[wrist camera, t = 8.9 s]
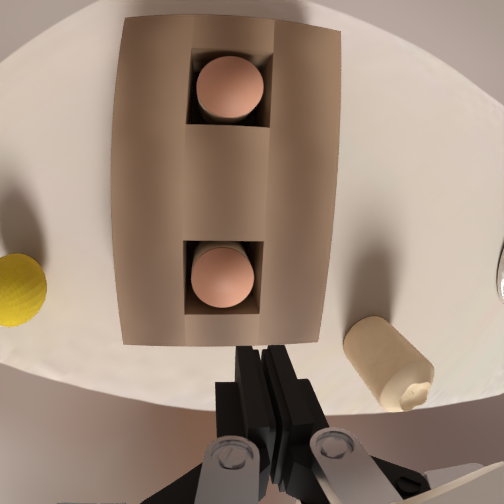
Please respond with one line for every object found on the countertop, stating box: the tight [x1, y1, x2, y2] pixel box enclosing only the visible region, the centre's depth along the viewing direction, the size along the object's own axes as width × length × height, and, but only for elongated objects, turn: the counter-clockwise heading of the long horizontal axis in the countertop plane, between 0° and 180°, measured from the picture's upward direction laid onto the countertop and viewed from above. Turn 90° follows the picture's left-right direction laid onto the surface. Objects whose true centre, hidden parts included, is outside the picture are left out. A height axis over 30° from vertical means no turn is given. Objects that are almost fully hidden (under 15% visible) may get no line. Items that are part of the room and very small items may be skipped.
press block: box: [111, 14, 341, 346], centre depth 22 cm, size 14×22×6 cm, turn 177°
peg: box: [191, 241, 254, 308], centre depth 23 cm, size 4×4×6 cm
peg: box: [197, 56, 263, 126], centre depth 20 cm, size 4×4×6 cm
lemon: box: [0, 254, 47, 327], centre depth 21 cm, size 6×6×8 cm
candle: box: [343, 316, 434, 412], centre depth 26 cm, size 6×6×10 cm
